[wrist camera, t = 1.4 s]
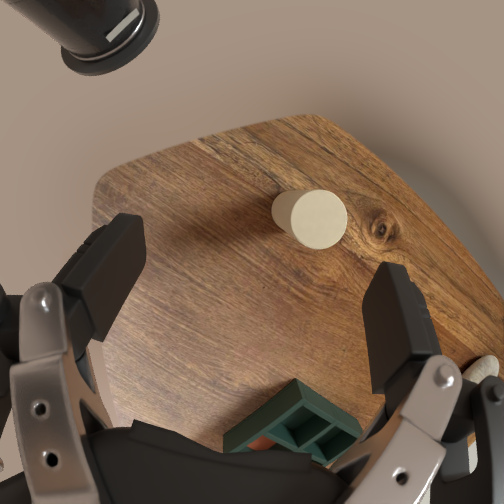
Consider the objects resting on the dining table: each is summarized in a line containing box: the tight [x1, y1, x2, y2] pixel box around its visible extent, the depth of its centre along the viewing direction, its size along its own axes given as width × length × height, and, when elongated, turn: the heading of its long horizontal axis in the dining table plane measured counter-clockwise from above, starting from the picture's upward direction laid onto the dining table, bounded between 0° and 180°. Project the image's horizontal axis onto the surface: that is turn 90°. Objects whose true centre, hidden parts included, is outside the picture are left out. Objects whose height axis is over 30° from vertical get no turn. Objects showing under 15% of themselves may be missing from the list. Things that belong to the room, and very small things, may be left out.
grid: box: [223, 378, 363, 467], centre depth 33 cm, size 13×13×4 cm
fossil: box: [462, 355, 499, 384], centre depth 35 cm, size 11×4×10 cm
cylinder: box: [271, 190, 347, 249], centre depth 24 cm, size 4×4×10 cm
